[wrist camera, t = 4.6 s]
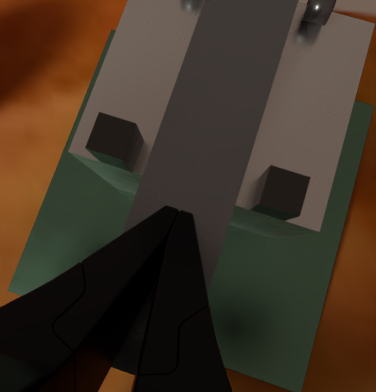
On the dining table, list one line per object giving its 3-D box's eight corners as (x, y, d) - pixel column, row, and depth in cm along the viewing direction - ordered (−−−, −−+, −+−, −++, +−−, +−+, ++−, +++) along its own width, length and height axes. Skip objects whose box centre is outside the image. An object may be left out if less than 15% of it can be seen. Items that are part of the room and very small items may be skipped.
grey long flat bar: (181, 370, 10) (179, 391, 9) (91, 338, 10) (74, 353, 9) (296, -1, 12) (310, -36, 11) (218, -22, 12) (222, -59, 11)
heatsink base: (296, 389, 17) (411, 545, 8) (13, 289, 18) (-163, 329, 9) (368, 110, 19) (519, -9, 10) (114, 35, 20) (51, -130, 11)
